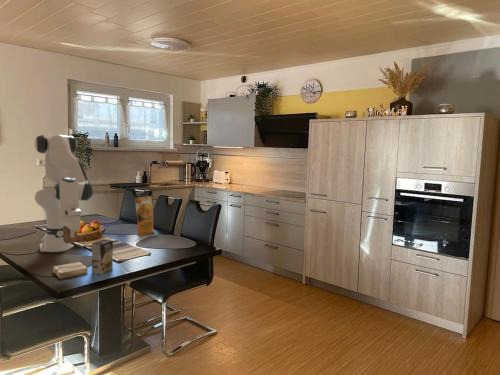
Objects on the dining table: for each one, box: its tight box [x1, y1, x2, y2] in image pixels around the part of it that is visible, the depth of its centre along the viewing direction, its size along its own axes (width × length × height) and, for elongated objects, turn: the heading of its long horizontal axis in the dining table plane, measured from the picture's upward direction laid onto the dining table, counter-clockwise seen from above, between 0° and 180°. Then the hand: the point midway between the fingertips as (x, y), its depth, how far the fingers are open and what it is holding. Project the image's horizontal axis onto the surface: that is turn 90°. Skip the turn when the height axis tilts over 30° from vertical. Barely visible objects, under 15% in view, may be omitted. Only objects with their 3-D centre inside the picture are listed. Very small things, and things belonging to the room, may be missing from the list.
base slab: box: [52, 261, 88, 279], centre depth 193 cm, size 12×13×3 cm
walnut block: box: [63, 226, 78, 244], centre depth 191 cm, size 5×5×8 cm
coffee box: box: [91, 239, 114, 275], centre depth 197 cm, size 9×6×16 cm
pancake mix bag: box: [134, 195, 154, 236], centre depth 279 cm, size 7×19×28 cm, turn 151°
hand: (69, 235), depth 191 cm, fingers closed on walnut block, 5 cm apart
